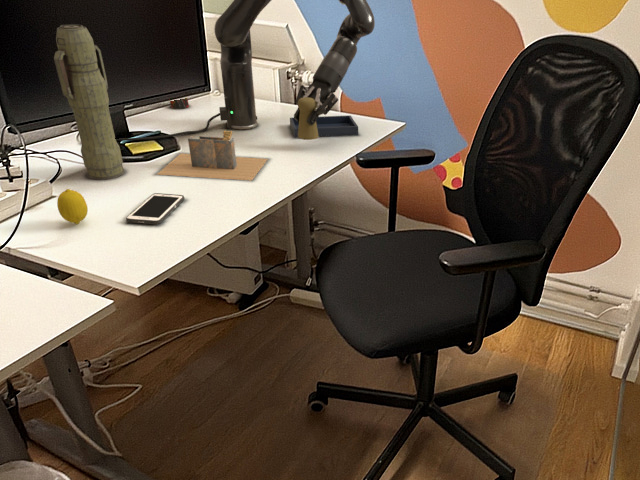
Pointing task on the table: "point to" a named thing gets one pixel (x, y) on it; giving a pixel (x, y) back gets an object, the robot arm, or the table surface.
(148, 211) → the cell phone
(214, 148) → the architectural model on board
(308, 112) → the cork
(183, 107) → the black red jagged block
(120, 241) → the table surface
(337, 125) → the pan
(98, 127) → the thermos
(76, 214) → the lemon
